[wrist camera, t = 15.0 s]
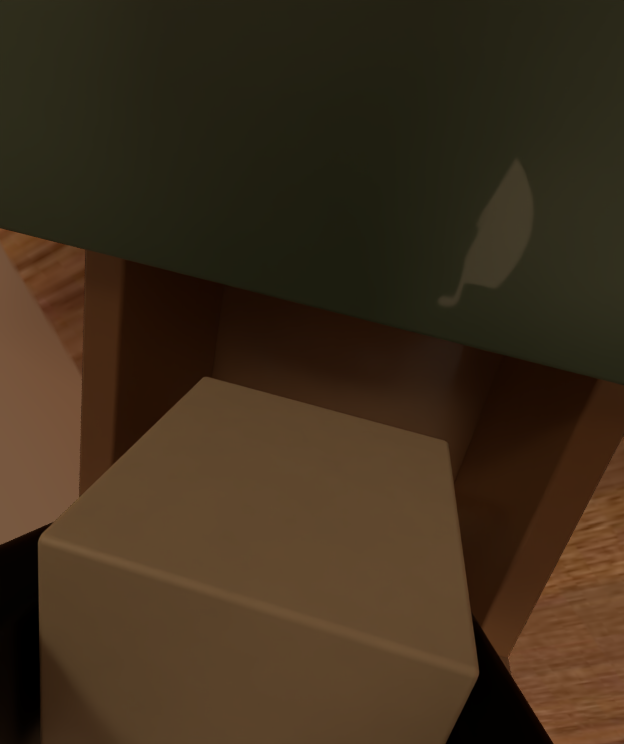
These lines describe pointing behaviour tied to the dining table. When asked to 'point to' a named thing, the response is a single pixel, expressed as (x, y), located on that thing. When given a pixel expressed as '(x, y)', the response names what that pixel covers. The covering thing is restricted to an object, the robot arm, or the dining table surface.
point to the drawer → (362, 408)
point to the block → (258, 584)
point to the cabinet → (338, 156)
